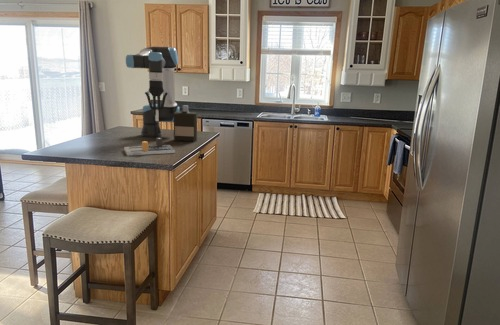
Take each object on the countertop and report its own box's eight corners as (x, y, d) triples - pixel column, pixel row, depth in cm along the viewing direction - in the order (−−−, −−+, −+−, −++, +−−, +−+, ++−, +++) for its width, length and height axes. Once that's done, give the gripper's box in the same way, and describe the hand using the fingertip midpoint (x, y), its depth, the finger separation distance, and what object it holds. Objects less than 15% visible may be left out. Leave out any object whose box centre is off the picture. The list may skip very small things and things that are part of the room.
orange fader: (142, 149, 215) (141, 141, 213) (147, 149, 216) (147, 140, 215) (143, 151, 211) (142, 142, 210) (148, 150, 212) (148, 142, 211)
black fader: (156, 145, 227) (156, 137, 225) (161, 145, 228) (160, 137, 226) (157, 147, 223) (157, 138, 222) (162, 146, 224) (162, 138, 223)
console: (124, 150, 221) (124, 146, 220) (169, 147, 232) (169, 144, 231) (126, 155, 207) (126, 152, 207) (175, 153, 219) (174, 149, 218)
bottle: (175, 138, 261) (175, 104, 255) (197, 140, 261) (197, 105, 255) (173, 141, 254) (172, 105, 247) (195, 142, 253) (195, 106, 247)
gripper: (145, 80, 200) (146, 122, 207) (168, 80, 205) (169, 121, 212) (143, 79, 207) (144, 120, 213) (166, 79, 212) (166, 119, 218)
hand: (157, 120), depth 212 cm, fingers closed
